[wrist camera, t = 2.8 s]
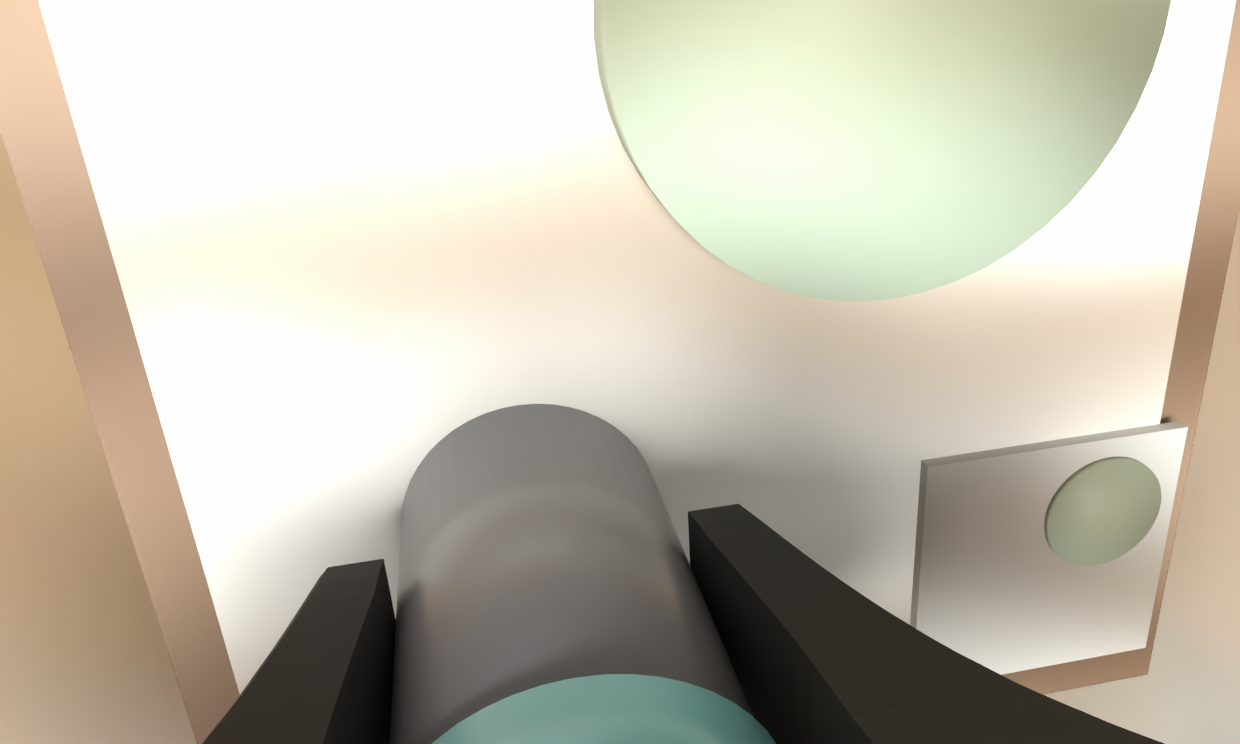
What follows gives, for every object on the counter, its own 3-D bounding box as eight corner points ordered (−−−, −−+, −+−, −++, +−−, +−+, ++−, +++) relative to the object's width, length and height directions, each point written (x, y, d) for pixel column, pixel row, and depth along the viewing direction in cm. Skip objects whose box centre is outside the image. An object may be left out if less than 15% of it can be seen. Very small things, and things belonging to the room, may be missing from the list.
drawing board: (1117, 643, 17) (1189, 716, 16) (241, 806, 15) (217, 909, 13) (1324, -515, 11) (1484, -601, 9) (-163, -502, 9) (-301, -607, 7)
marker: (670, 607, 14) (846, 1090, 8) (415, 650, 13) (403, 1197, 7) (657, 379, 12) (861, 762, 6) (371, 417, 12) (312, 871, 6)
